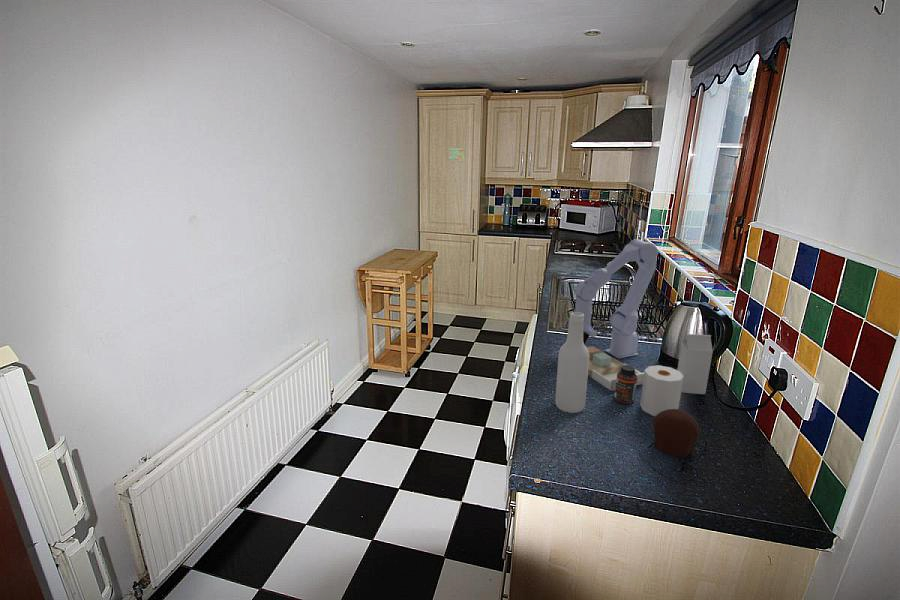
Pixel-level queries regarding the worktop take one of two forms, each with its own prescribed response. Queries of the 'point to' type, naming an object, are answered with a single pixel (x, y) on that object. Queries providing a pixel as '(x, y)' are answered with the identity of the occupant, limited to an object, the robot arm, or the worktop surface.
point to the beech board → (605, 367)
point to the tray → (613, 379)
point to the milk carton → (695, 363)
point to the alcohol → (572, 368)
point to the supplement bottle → (626, 385)
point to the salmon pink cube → (592, 352)
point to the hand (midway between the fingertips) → (580, 348)
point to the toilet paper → (661, 389)
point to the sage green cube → (602, 359)
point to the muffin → (675, 432)
